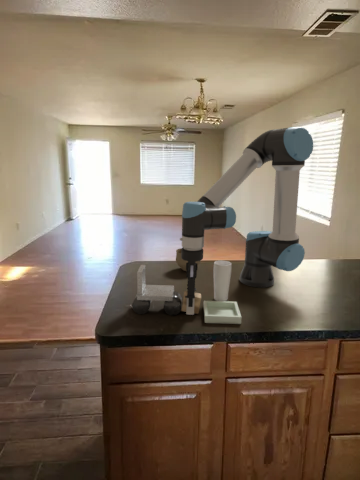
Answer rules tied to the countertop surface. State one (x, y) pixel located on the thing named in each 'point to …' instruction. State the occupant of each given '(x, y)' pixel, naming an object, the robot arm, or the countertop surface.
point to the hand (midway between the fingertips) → (190, 311)
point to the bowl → (182, 262)
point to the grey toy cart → (155, 296)
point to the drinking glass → (221, 279)
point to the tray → (221, 312)
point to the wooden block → (196, 302)
